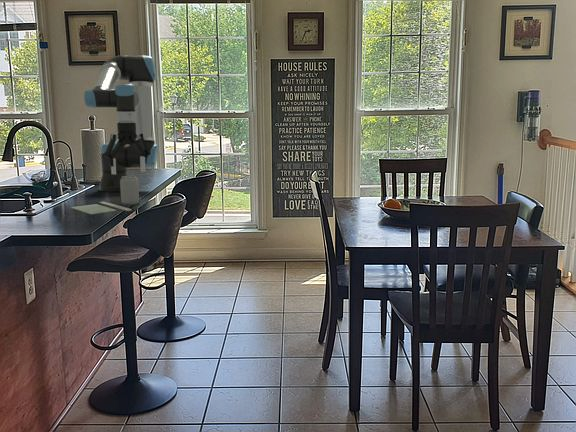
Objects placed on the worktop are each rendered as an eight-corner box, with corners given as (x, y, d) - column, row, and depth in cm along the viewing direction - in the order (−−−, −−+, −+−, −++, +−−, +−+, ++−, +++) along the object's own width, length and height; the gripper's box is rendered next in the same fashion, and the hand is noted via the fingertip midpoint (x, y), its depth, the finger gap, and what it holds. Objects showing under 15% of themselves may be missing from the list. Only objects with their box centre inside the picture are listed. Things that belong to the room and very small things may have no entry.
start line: (104, 202, 258) (104, 201, 258) (131, 210, 241) (131, 209, 241) (99, 203, 257) (99, 202, 257) (127, 211, 240) (127, 209, 240)
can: (117, 204, 255) (116, 176, 252) (129, 201, 261) (128, 174, 259) (130, 206, 251) (129, 177, 249) (143, 203, 258) (141, 175, 255)
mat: (96, 204, 253) (96, 204, 253) (116, 211, 240) (116, 210, 240) (71, 208, 246) (70, 207, 245) (90, 214, 233) (90, 213, 233)
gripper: (102, 122, 238) (105, 176, 242) (157, 121, 255) (159, 171, 259) (94, 122, 243) (96, 174, 247) (148, 121, 260) (150, 170, 264)
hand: (128, 173), depth 253 cm, fingers open, 13 cm apart
